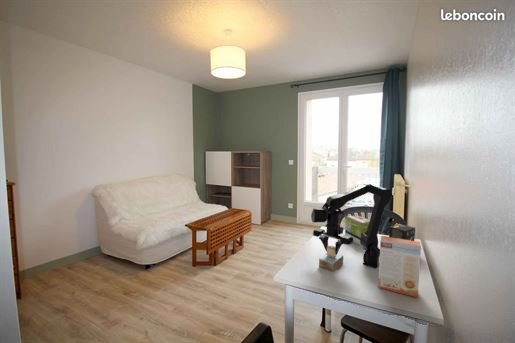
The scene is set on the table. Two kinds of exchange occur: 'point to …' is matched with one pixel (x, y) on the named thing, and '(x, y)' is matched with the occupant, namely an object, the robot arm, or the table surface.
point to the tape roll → (331, 251)
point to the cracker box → (399, 265)
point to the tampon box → (402, 232)
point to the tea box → (356, 227)
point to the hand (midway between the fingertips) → (331, 252)
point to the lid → (331, 258)
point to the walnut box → (330, 266)
